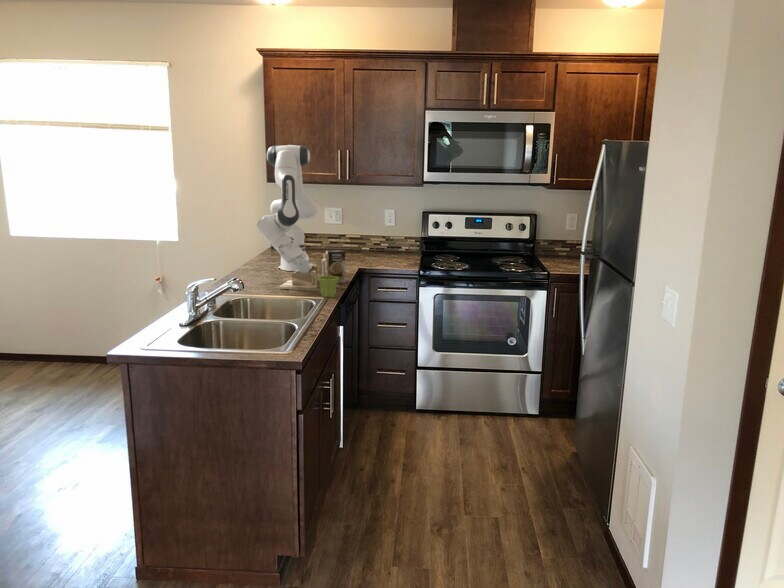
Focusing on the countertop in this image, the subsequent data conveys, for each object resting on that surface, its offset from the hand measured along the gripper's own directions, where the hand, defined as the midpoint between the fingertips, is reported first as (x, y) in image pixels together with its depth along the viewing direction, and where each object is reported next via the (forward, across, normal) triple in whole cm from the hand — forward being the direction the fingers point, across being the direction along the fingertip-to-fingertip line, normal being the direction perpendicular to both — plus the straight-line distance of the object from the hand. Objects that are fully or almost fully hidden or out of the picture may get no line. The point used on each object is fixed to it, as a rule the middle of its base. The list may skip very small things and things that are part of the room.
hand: (303, 265), depth 298 cm
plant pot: (+19, -17, -4) cm, 26 cm away
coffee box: (+17, +15, -1) cm, 23 cm away
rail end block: (+7, 0, +6) cm, 9 cm away
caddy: (+8, 0, +7) cm, 11 cm away
